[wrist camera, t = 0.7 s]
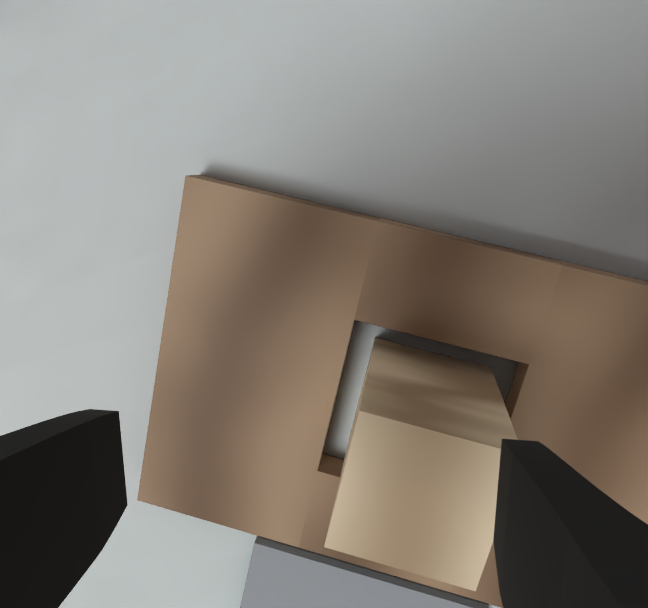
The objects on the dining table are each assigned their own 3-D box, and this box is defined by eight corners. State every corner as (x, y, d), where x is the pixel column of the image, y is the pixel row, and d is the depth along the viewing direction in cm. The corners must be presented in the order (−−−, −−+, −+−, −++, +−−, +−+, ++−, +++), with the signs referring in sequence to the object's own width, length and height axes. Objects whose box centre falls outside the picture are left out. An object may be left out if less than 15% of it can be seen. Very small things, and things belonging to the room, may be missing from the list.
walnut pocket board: (756, 307, 18) (780, 317, 16) (618, 618, 21) (630, 645, 20) (199, 174, 19) (186, 175, 18) (151, 482, 22) (137, 500, 21)
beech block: (490, 367, 19) (523, 455, 14) (458, 469, 20) (475, 591, 15) (375, 337, 20) (359, 410, 14) (348, 439, 21) (324, 546, 15)
